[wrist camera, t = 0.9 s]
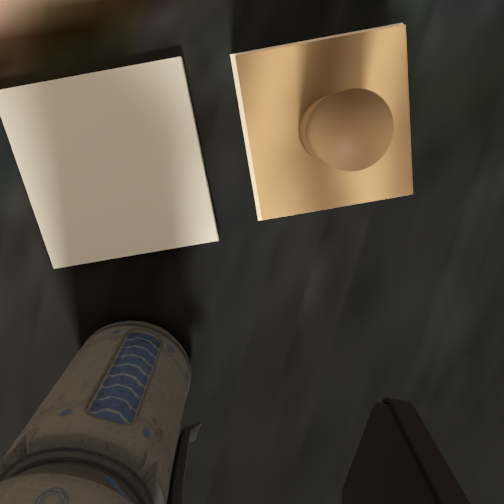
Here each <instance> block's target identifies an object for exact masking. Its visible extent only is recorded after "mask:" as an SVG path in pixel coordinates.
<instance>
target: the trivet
mask: <svg viewBox="0 0 504 504" xmlns="http://www.w3.org/2000/svg"><path fill="white" fill-rule="evenodd" d="M0 116H1V119H2V122H3V125H4V128H5V130H6V133H7V136H8V139H9V142H10V145H11V148H12V150H13V153H14V156H15V159H16V162H17V165H18V168H19V171H20V173H21V176H22V179H23V182H24V185H25V188H26V191H27V194H28V196H29V199H30V202H31V205H32V208H33V211H34V214H35V216H36V219H37V222H38V225H39V228H40V231H41V234H42V237H43V239H44V242H45V245H46V248H47V251H48V254H49V257H50V259H51V262H52V265H53V268H54V269H56V268H62V267H68V266H74V265H80V264H85V263H91V262H97V261H103V260H109V259H115V258H121V257H126V256H132V255H138V254H144V253H150V252H156V251H161V250H167V249H173V248H179V247H185V246H191V245H197V244H202V243H208V242H214V241H219V235H218V230H217V225H216V221H215V216H214V211H213V206H212V201H211V196H210V191H209V186H208V181H207V177H206V172H205V167H204V162H203V157H202V152H201V147H200V142H199V137H198V132H197V128H196V123H195V118H194V113H193V108H192V103H191V98H190V93H189V88H188V83H187V79H186V74H185V69H184V64H183V59H182V57H181V56H180V57H174V58H169V59H163V60H158V61H153V62H147V63H142V64H136V65H131V66H125V67H120V68H115V69H109V70H104V71H98V72H93V73H88V74H82V75H77V76H71V77H66V78H61V79H55V80H50V81H44V82H39V83H33V84H28V85H23V86H17V87H12V88H6V89H1V90H0Z"/></svg>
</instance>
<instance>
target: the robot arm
mask: <svg viewBox="0 0 504 504" xmlns="http://www.w3.org/2000/svg"><path fill="white" fill-rule="evenodd" d="M342 503H343V504H470V503H469V501H468V499H467V497H466V496H465V494H464V492H463V490H462V489H461V487H460V485H459V484H458V482H457V480H456V478H455V477H454V475H453V473H452V472H451V470H450V468H449V466H448V465H447V463H446V461H445V459H444V458H443V456H442V454H441V453H440V451H439V449H438V447H437V446H436V444H435V442H434V440H433V439H432V437H431V435H430V434H429V432H428V430H427V428H426V427H425V425H424V423H423V421H422V420H421V418H420V416H419V415H418V413H417V411H416V409H415V408H414V406H413V405H412V403H410V402H408V401H403V400H397V399H392V398H384V399H383V400H382V402H381V403H379V402H378V403H376V404H375V405H374V407H373V409H372V412H371V414H370V417H369V420H368V422H367V425H366V428H365V430H364V433H363V436H362V438H361V441H360V444H359V446H358V449H357V452H356V454H355V457H354V460H353V462H352V465H351V468H350V470H349V473H348V476H347V478H346V481H345V484H344V486H343V491H342Z"/></svg>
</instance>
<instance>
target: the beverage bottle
mask: <svg viewBox="0 0 504 504" xmlns="http://www.w3.org/2000/svg"><path fill="white" fill-rule="evenodd" d="M190 380H191V366H190V362H189V358H188V356H187V354H186V352H185V350H184V349H183V347H182V346H181V344H180V343H179V342H178V341H177V340H176V339H175V338H174V337H173V336H172V335H171V334H170V333H169V332H167V331H166V330H164V329H163V328H161V327H159V326H156V325H154V324H153V325H152V324H149V323H147V322H143V321H124V322H116V323H113V324H110V325H107V326H104V327H103V328H101V329H99V330H97V331H96V332H94V333H93V334H92V335H91V336H90V337H89V338H88V339H87V340H86V342H85V343H84V344H83V346H82V347H81V349H80V350H79V351H78V353H77V354H76V356H75V357H74V359H73V360H72V362H71V363H70V364H69V366H68V367H67V369H66V370H65V371H64V373H63V374H62V376H61V377H60V379H59V380H58V381H57V383H56V384H55V386H54V387H53V388H52V390H51V391H50V393H49V394H48V395H47V397H46V398H45V400H44V401H43V403H42V404H41V405H40V407H39V408H38V410H37V411H36V412H35V414H34V415H33V417H32V418H31V420H30V421H29V422H28V424H27V425H26V427H25V428H24V429H23V431H22V432H21V434H20V435H19V437H18V438H17V439H16V441H15V442H14V443H13V445H12V446H11V448H10V449H9V450H8V452H7V453H6V455H5V456H4V458H3V459H2V460H1V462H0V504H182V494H183V486H184V479H185V472H186V464H187V457H188V449H189V444H190V443H191V442H193V441H194V440H195V439H197V437H196V436H197V433H198V431H199V429H200V426H201V424H202V422H199V423H197V424H194V425H191V426H188V427H185V428H183V430H182V432H181V435H180V437H179V440H178V436H179V431H180V426H181V421H182V416H183V411H184V406H185V401H186V396H187V393H188V389H189V385H190ZM177 441H178V442H177Z"/></svg>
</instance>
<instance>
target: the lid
mask: <svg viewBox="0 0 504 504" xmlns="http://www.w3.org/2000/svg"><path fill="white" fill-rule="evenodd" d="M235 59H236V65H237V71H238V77H239V83H240V89H241V95H242V101H243V107H244V113H245V119H246V125H247V131H248V137H249V143H250V149H251V155H252V161H253V167H254V173H255V179H256V185H257V191H258V197H259V203H260V209H261V215H262V220H266V219H272V218H278V217H284V216H289V215H295V214H301V213H307V212H313V211H318V210H324V209H330V208H336V207H342V206H347V205H353V204H359V203H365V202H371V201H377V200H382V199H388V198H394V197H400V196H406V195H411V194H413V181H412V158H411V135H410V113H409V90H408V67H407V44H406V24H405V25H400V26H394V27H389V28H384V29H378V30H373V31H367V32H362V33H356V34H351V35H346V36H340V37H335V38H329V39H324V40H318V41H313V42H307V43H302V44H297V45H291V46H286V47H280V48H275V49H269V50H264V51H259V52H253V53H248V54H242V55H237V56H235Z"/></svg>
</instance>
